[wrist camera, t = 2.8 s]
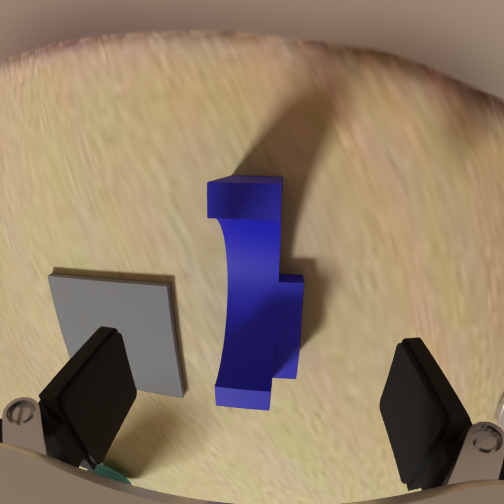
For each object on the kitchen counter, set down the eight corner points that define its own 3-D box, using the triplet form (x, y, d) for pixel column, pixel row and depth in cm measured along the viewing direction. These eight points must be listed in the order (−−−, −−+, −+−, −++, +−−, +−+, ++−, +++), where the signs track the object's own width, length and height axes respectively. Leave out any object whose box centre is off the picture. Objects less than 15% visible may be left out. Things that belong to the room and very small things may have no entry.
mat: (169, 282, 20) (166, 286, 20) (185, 393, 23) (183, 398, 23) (51, 273, 21) (47, 275, 21) (79, 371, 24) (75, 374, 24)
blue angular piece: (295, 352, 21) (296, 411, 15) (232, 348, 22) (216, 405, 16) (308, 177, 18) (318, 185, 12) (232, 175, 18) (207, 182, 12)
